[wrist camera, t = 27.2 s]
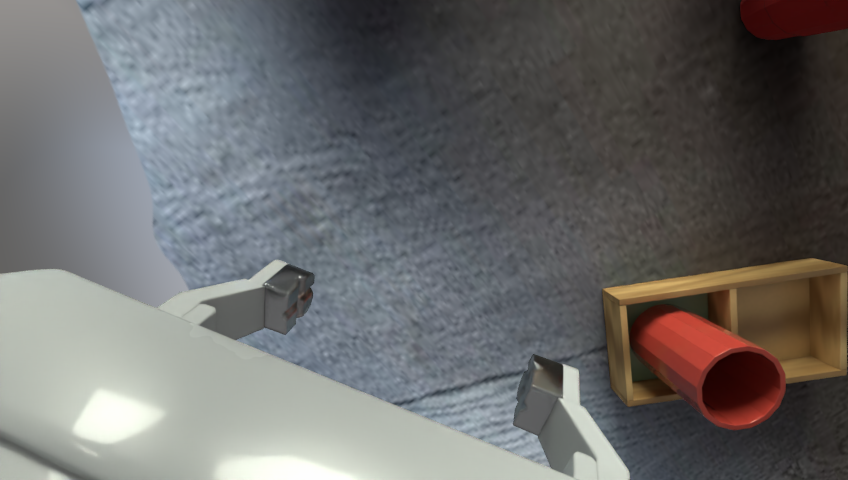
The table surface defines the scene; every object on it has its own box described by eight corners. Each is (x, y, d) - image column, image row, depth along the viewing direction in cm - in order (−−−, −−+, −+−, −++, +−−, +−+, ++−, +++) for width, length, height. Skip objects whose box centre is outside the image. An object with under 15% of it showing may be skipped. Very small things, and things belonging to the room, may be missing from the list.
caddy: (601, 288, 40) (618, 299, 37) (810, 257, 40) (847, 265, 37) (610, 387, 42) (627, 407, 38) (811, 358, 42) (847, 375, 38)
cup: (626, 309, 40) (694, 354, 30) (694, 298, 40) (785, 340, 30) (631, 372, 41) (699, 435, 31) (698, 362, 41) (786, 422, 31)
